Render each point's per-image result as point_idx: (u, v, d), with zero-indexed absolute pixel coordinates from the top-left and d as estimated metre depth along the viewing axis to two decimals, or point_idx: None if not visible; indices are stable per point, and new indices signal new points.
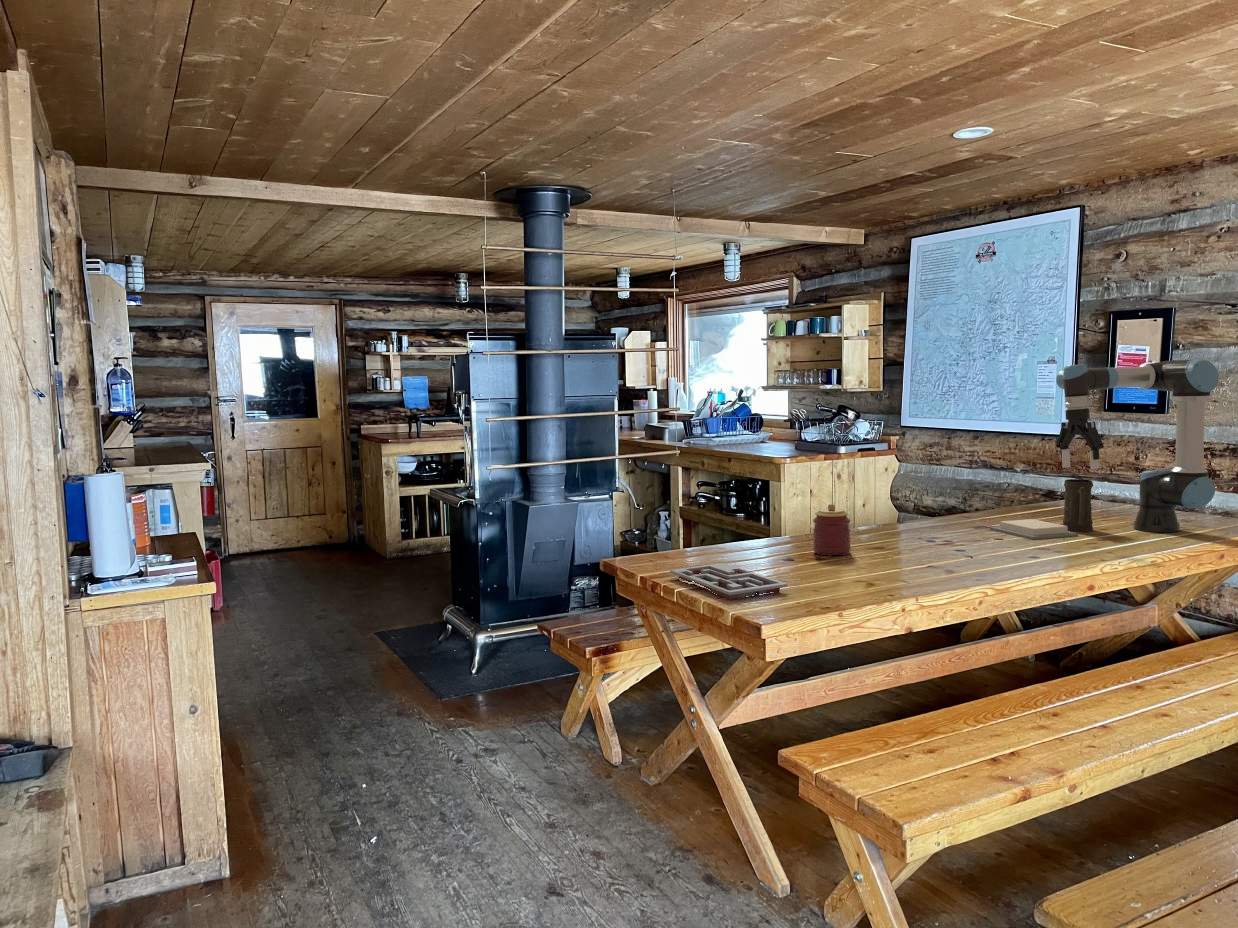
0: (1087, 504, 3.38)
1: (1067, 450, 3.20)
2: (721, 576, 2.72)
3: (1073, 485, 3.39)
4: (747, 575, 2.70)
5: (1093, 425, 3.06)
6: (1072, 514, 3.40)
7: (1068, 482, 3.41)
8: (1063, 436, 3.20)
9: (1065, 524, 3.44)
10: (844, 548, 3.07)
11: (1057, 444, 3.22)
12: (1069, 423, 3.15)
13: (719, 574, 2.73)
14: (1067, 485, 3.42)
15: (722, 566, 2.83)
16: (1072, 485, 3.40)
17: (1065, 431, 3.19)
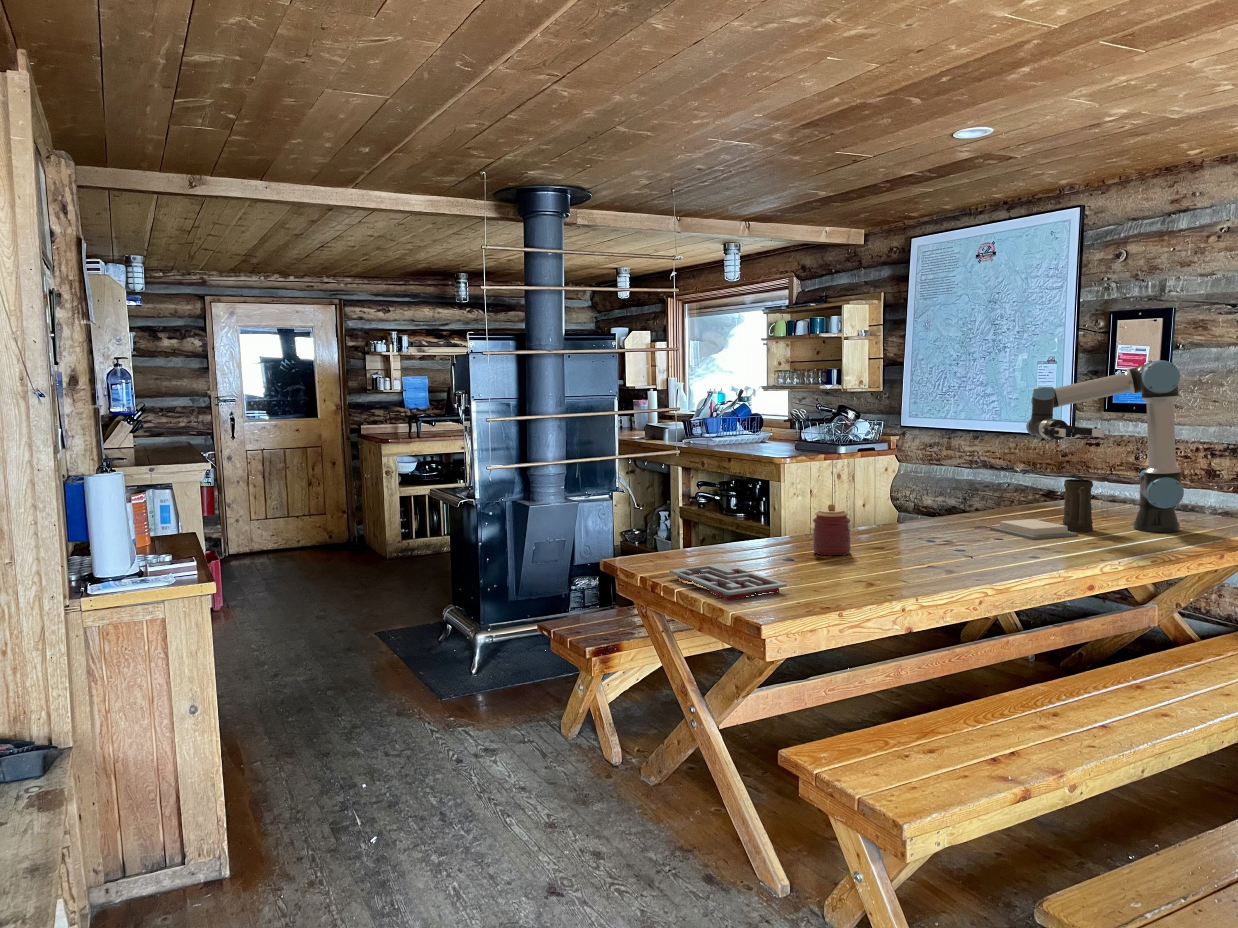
0: (1087, 504, 3.38)
1: (1092, 431, 3.17)
2: (720, 576, 2.72)
3: (1073, 485, 3.39)
4: (746, 575, 2.70)
5: (1043, 429, 3.26)
6: (1072, 514, 3.40)
7: (1068, 482, 3.41)
8: None
9: (1065, 524, 3.44)
10: (844, 548, 3.07)
11: None
12: None
13: (718, 574, 2.73)
14: (1067, 485, 3.42)
15: (721, 566, 2.82)
16: (1072, 485, 3.40)
17: None
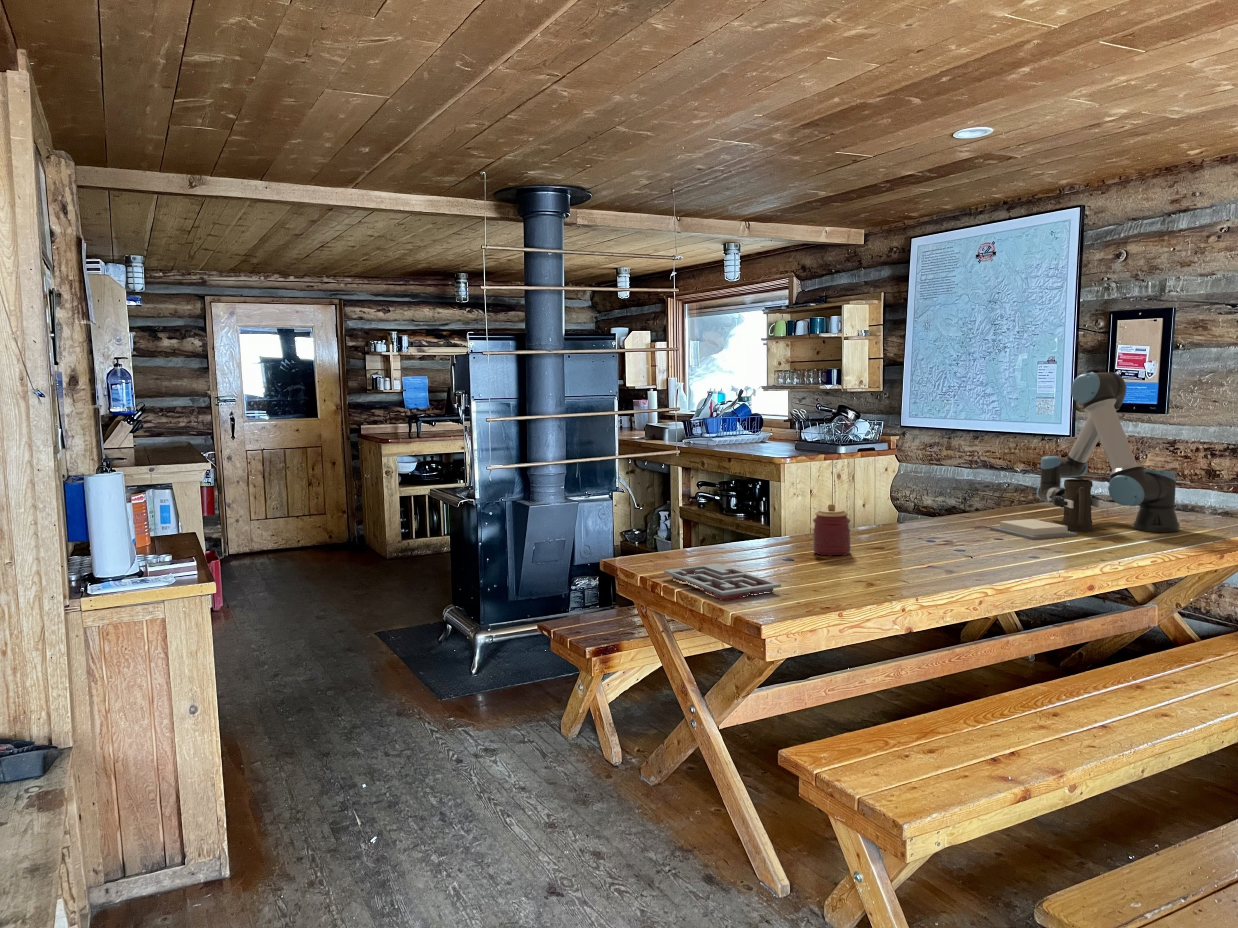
0: (1087, 504, 3.38)
1: None
2: (715, 576, 2.72)
3: (1072, 485, 3.39)
4: (740, 576, 2.70)
5: (1050, 498, 3.52)
6: (1071, 514, 3.40)
7: (1068, 482, 3.41)
8: None
9: (1065, 524, 3.44)
10: (844, 548, 3.07)
11: None
12: None
13: (713, 574, 2.73)
14: (1067, 485, 3.42)
15: (716, 566, 2.82)
16: (1071, 485, 3.40)
17: None
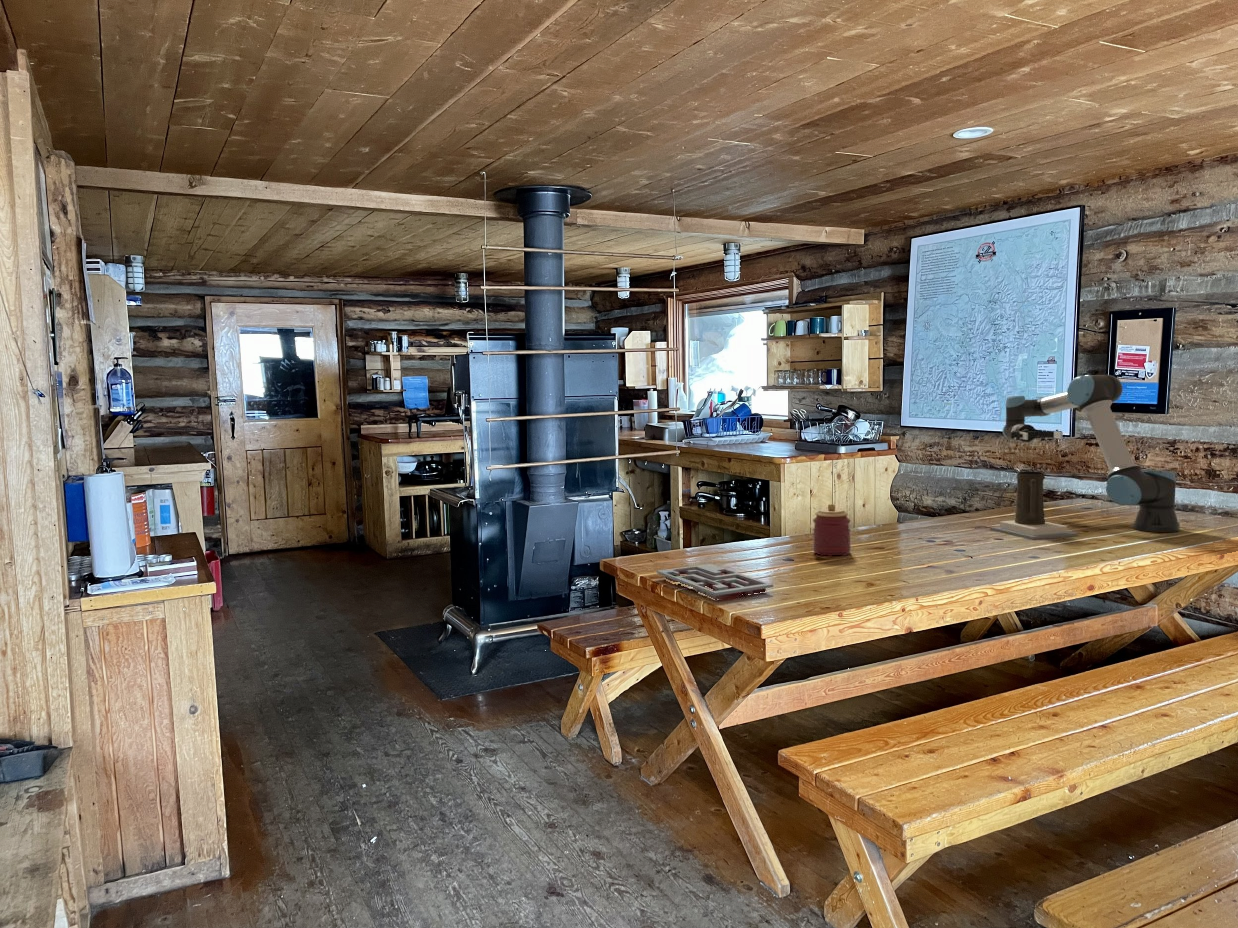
0: (1038, 496, 3.38)
1: (1054, 433, 3.62)
2: (707, 577, 2.72)
3: (1024, 477, 3.39)
4: (733, 576, 2.70)
5: None
6: (1023, 506, 3.40)
7: (1020, 474, 3.41)
8: None
9: (1017, 517, 3.43)
10: (844, 548, 3.07)
11: None
12: None
13: (705, 575, 2.73)
14: (1019, 477, 3.41)
15: (709, 567, 2.82)
16: (1023, 477, 3.39)
17: None
